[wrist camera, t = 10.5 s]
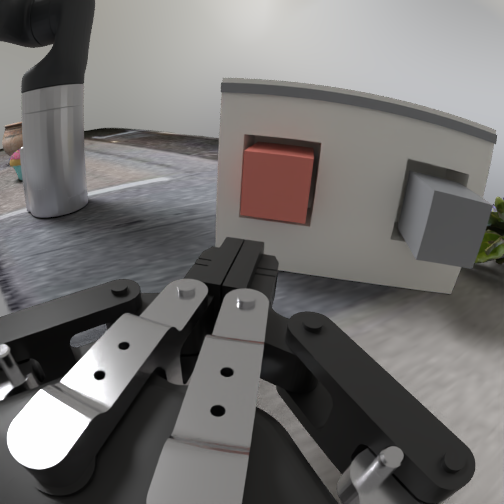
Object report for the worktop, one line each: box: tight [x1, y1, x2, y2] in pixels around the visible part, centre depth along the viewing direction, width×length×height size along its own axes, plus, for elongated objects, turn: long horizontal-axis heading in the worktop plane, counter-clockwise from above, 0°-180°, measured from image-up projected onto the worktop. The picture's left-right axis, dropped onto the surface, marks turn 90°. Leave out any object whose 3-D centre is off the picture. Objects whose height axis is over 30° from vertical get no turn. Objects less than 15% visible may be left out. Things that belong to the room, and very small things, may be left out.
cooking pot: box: [3, 122, 23, 156], centre depth 74 cm, size 25×19×12 cm
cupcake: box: [10, 149, 23, 180], centre depth 53 cm, size 9×8×12 cm
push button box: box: [215, 78, 497, 294], centre depth 27 cm, size 23×8×16 cm, turn 80°
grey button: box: [397, 171, 493, 269], centre depth 21 cm, size 5×6×5 cm
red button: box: [240, 142, 314, 224], centre depth 26 cm, size 5×6×5 cm
